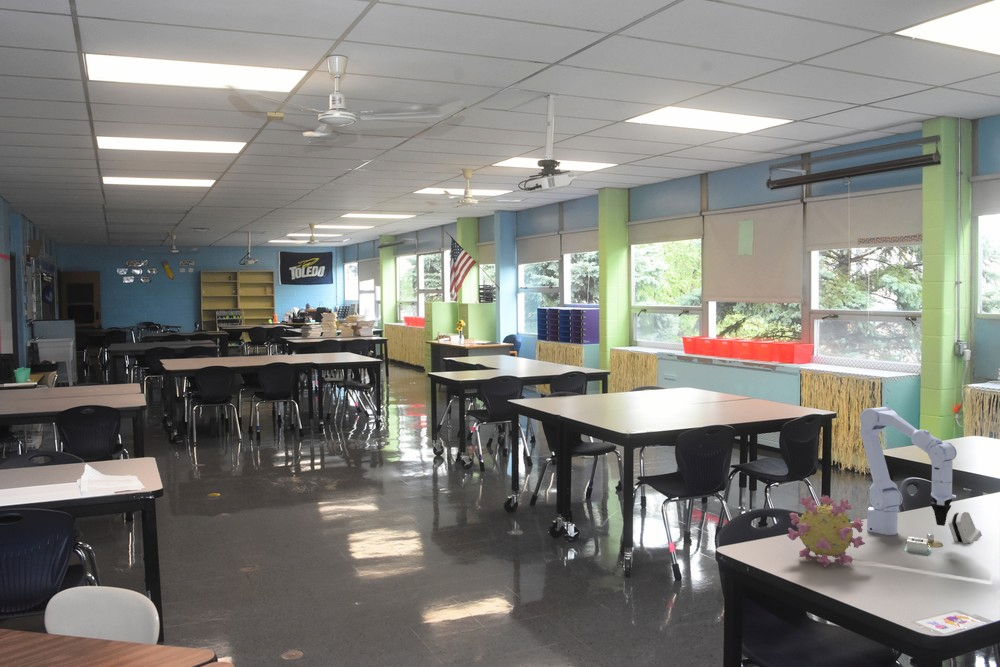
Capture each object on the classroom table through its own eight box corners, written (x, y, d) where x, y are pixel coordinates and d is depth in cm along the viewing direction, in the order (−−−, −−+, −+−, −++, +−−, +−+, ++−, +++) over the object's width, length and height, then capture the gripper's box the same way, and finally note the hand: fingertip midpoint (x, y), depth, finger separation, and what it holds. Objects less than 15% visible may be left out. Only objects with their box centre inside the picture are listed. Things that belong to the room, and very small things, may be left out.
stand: (903, 552, 245) (903, 540, 245) (906, 546, 251) (906, 534, 250) (928, 556, 241) (928, 543, 241) (930, 550, 247) (930, 537, 247)
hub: (917, 546, 251) (917, 535, 251) (919, 540, 256) (919, 530, 256) (941, 549, 247) (941, 538, 247) (943, 544, 253) (943, 533, 252)
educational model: (791, 546, 253) (791, 487, 252) (866, 555, 243) (866, 494, 242) (783, 568, 232) (784, 503, 231) (865, 579, 222) (865, 512, 222)
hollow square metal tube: (906, 550, 245) (906, 541, 245) (908, 545, 250) (908, 536, 250) (926, 553, 242) (926, 543, 242) (927, 548, 247) (928, 539, 246)
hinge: (972, 547, 250) (960, 517, 252) (956, 549, 254) (945, 519, 255) (982, 535, 263) (971, 506, 265) (967, 537, 266) (956, 509, 268)
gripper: (955, 486, 238) (954, 529, 239) (957, 477, 250) (956, 518, 251) (929, 484, 242) (929, 526, 243) (932, 475, 254) (931, 515, 255)
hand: (941, 522), depth 247 cm, fingers open, 7 cm apart
